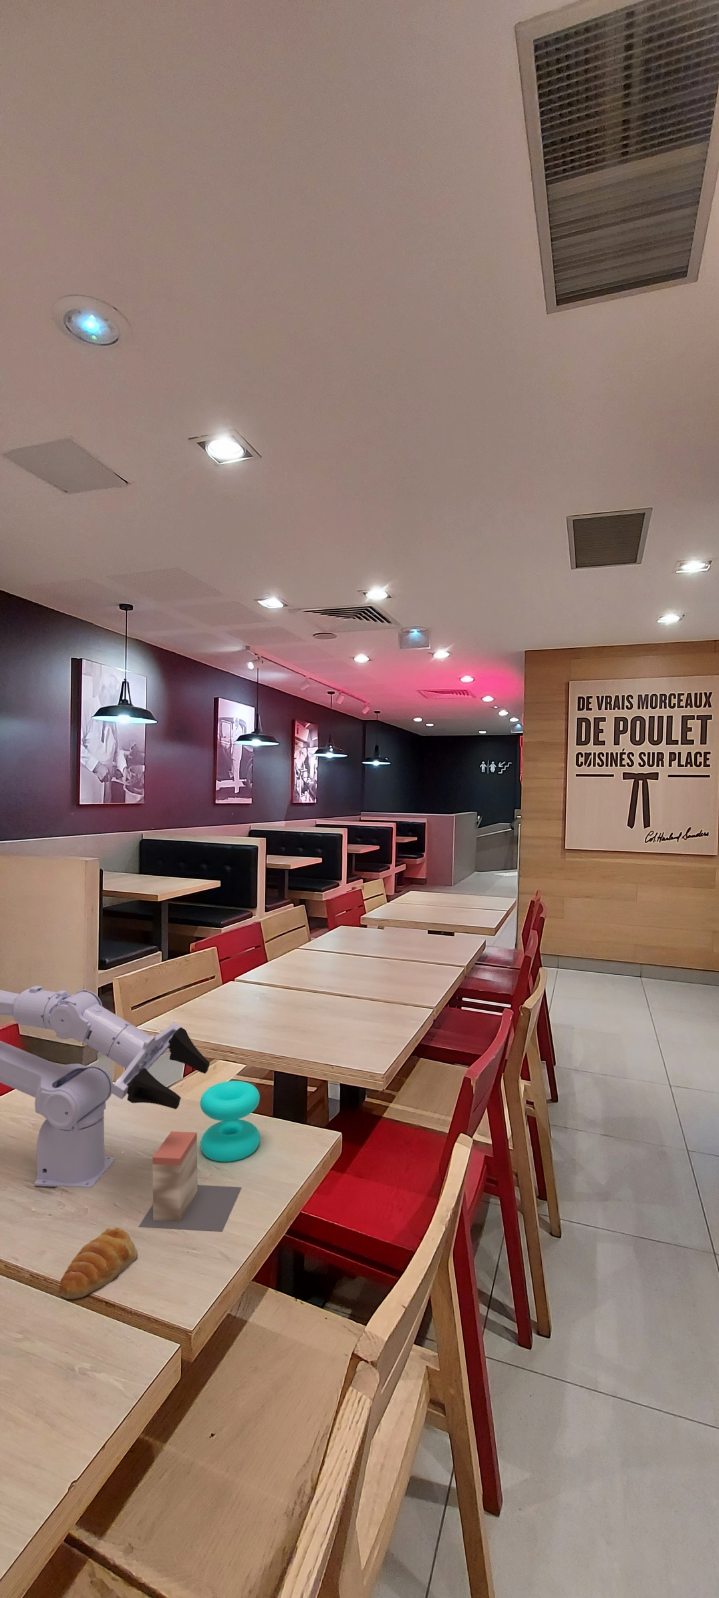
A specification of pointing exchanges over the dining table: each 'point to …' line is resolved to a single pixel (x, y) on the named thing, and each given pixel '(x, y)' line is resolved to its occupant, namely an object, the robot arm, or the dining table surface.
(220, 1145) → the donuts
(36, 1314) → the dining table surface
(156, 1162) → the block
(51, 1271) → the dining table surface
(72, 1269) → the pastry
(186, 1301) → the dining table surface
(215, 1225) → the mat
